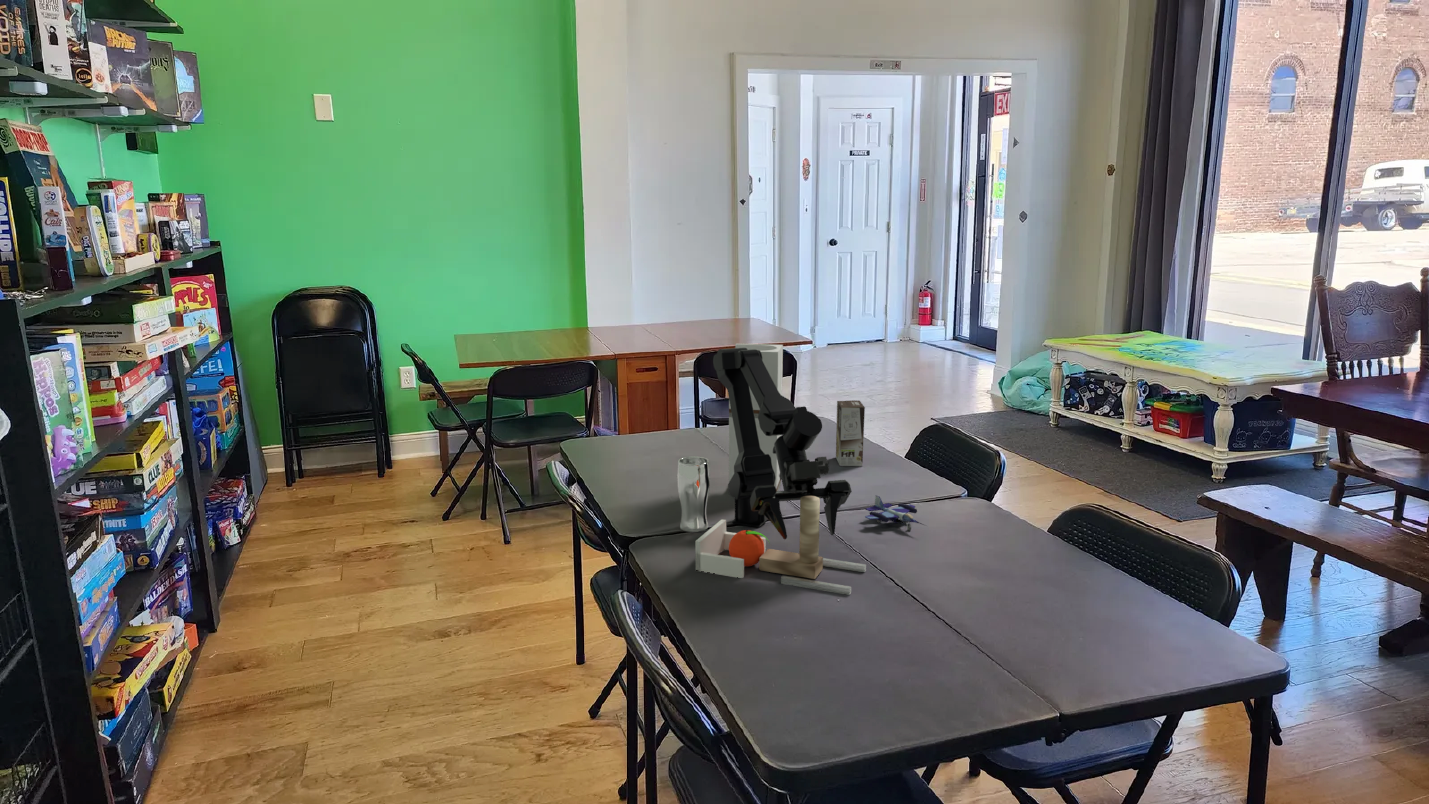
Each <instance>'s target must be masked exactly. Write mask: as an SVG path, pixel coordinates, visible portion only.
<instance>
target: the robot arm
mask: <svg viewBox="0 0 1429 804" xmlns="http://www.w3.org/2000/svg"><path fill="white" fill-rule="evenodd" d="M712 363H713V369H714V370H715V371H716V375H717V379H718V381H719V382H720V383H721V384H722V385H723V386H724V388H725V389H726V391H727V394H728V402H729V401H730V406H731V412H732V418H733V423H734V429H735V435H736V440H737V446H738V452H739V454H738V457H737V459H736V462H735V465H734V475H733V477H732V478H731V480H730V482H729V481H728V484H727V488H728V489H727V490H728V495H729V494H730V495H729V496H731V497H733V499H734V518H733V520H732V521H731V524H733V525H740V526H748V527H753V528H760V527H762V525H763V524H765V523H766V522H767V521H769V523H771V524H772V525H773V526H774V528H775V529H776V530H777V532H778V534H779V535H780V536H781V537H782V539H784V540H786V539H787V538H788V535H787V528H786V525H785V521H784V518H783V515H782V511H781V507H780V506H781V505H780V503H781V502H789V501H790V502H791V501H792V502H793V501H800V498H801V497H803V496H816V497H818V498H820V499H822V500H823V504H825V505H824V507H823V511H824V514H825V518H826V523H827V526H828V527H827V528H828V531H829V533H830V535H831V536H834V535H835V531H836V524H837V515H838V509H839V508H841V505H845V503H846V501H847V500H848V498H849V497H850V495H851V494H852V487H851V484H850V483H849V481H847V480H846V479H837V480H835V479H834V480H828V481H827V483H826V485H825V487H819V488H815V487H814V486H817V484H818V479H821V477H822V476H821V475H827V474H829V471H830V468H829V467H830V465H829V462H828V459H827V456H818V457H816V458H815V459H814V461H813V460H812V461H811V460H810V459H808V457H807V453H806V450H808V449H809V448H811V446H812V445H813V443H814V442H815V440H816V439H817V437H818V436H819V434H820V433H821V431H822V430H823V422H822V420H821V418H819V416H817V414H815V413H814V412H812V411H809V410H808V409H807V406H806V405H805V406H804V405H803V406H795V405H794V403H793V402H792V401H791V400H790V399H789V398H788V397H785V396H784V395H783V394H782V395H781V394H780V393H779V391H778V390H777V388H776V386H775V384H774V382H773V380H772V378H771V376H770V374H769V372H768V370H767V368H766V366H765V365H764V363H763V361H762V354H761V352H760V351H759V350H756V349H752V350H748V349H747V348H735V347H734V348H733V347H732V348H719V349H718V350H717V353H716V354H714V355H713V359H712ZM749 387H750V389H751V391H752V393H753V395H754V397H755V399H756V401H757V403H758V406H759V408H760V411H759V415H758V420H759V425H760V428H761V430H762V431H763V433H764V434H765V435H766V436H777V435H781V436H780V437H779V438H778V439H777V440H776V442H775V443H774V447H773V453H774V454H776V456H777V461H778V465H779V470H780V474H779V477H780V480H781V485H782V488H783V490H779V491H776V488H775V486H774V484H775V478H776V477H775V473H774V470H773V467H772V462H771V457H770V455H769V454H765V453H764V452H763V451H762V450H761V449H760V444H759V438H758V433H757V428H756V422H755V417H754V411H753V406H752V400H751V395H750V389H749Z"/></svg>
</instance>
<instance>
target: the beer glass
mask: <svg viewBox="0 0 1429 804" xmlns="http://www.w3.org/2000/svg"><path fill="white" fill-rule="evenodd" d="M709 460H710V459H709V458H706V457H703V456H685V457H681V458H679V459H678V461H677V476H676V477H677V491H678V496H679V501H680V508H681V518H680V525H679V528H680V530H682V531H684V532H688V533H689V532H690V533H698V532H703V531H706V530H708V528H709V523H708V518H707V517H708V516H707V507H708V506H707V505H708V500H709V494H710V486H711V477H710V476H711V472H710V471H711V470H710V461H709Z"/></svg>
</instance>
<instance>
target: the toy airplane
mask: <svg viewBox="0 0 1429 804" xmlns="http://www.w3.org/2000/svg"><path fill="white" fill-rule="evenodd" d="M897 506H898V507H894V508H891V507H893V504H892V503H889V502H888V503H887V502H886V503H884V502H883V501H882V498H881V497H880V496H878V495H875V496H874V505H873V506H869V507H867V508H865V509H864V510H865V511H868V512H869V515H865V516H864V517H865V519H867V520H876V522H877V523H881V522H884V523H888V522H889V521H891V522H893V523H896V524H898V523H899V524H905V523H906V529H907V531H909V532H911V531H912V525H911V523H915V524H919V525H923V526H926V527H927V525H926V524H923V523H921V522H919V521H917V520H916V519H915V518H914V516H913V515H912V514H917V513H918V509H917V508H916V506H915V505H913V504H907V503H898V504H897ZM876 511H880V512H876ZM908 522H909V523H908ZM908 524H909V525H908Z"/></svg>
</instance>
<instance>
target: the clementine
mask: <svg viewBox="0 0 1429 804" xmlns="http://www.w3.org/2000/svg"><path fill="white" fill-rule="evenodd" d="M736 533H737V534H735V535H734V536H733V537H732V539H731V541H730V543H729V550H728V552H729V557H735V558H741V559H744V567H752V566H754V565H756V564H758V563H759V558H760V557H761V556H762V555H763V554H764V550H765V548H764V543H763V540H762V538H761V537H765V538H766V541H768V543H770V541H769V539H768V538H767V536H765V534H763V533H760V532H758V531H754V530H750V529H748V530H747V529H745V530H744V529H743V530H740V531H738V532H736Z"/></svg>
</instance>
